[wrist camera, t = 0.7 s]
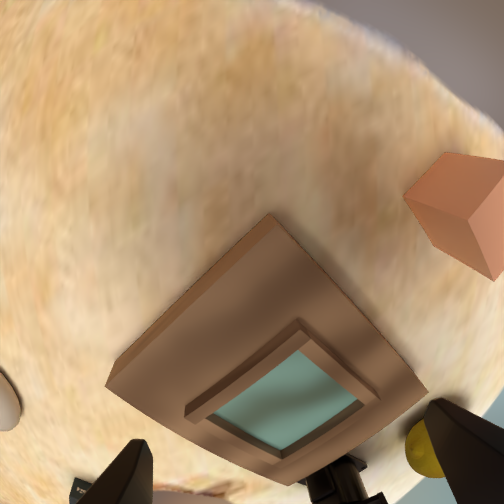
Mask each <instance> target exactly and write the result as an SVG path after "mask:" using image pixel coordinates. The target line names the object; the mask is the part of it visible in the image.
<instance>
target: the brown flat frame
mask: <svg viewBox="0 0 504 504" xmlns="http://www.w3.org/2000/svg"><path fill="white" fill-rule="evenodd" d="M105 387H106V388H107V389H109V390H110V391H111V392H113V393H114V394H116V395H117V396H118V397H120V398H121V399H123V400H124V401H126V402H127V403H129V404H130V405H132V406H133V407H135V408H136V409H138V410H139V411H141V412H142V413H144V414H145V415H147V416H148V417H150V418H152V419H153V420H155V421H156V422H158V423H160V424H161V425H163V426H165V427H166V428H168V429H170V430H171V431H173V432H175V433H177V434H178V435H180V436H182V437H184V438H185V439H187V440H189V441H191V442H193V443H194V444H196V445H198V446H200V447H202V448H204V449H206V450H208V451H210V452H211V453H213V454H215V455H217V456H219V457H221V458H224V459H226V460H228V461H230V462H232V463H234V464H236V465H238V466H240V467H243V468H245V469H247V470H249V471H252V472H254V473H256V474H259V475H261V476H263V477H266V478H268V479H271V480H273V481H276V482H278V483H281V484H283V485H286V486H290V485H292V484H294V483H296V482H297V481H299V480H301V479H303V478H305V477H307V476H309V475H310V474H312V473H314V472H316V471H318V470H319V469H321V468H323V467H325V466H326V465H328V464H330V463H331V462H333V461H335V460H336V459H338V458H340V457H341V456H343V455H344V454H346V453H348V452H349V451H351V450H352V449H354V448H355V447H357V446H358V445H360V444H361V443H363V442H364V441H366V440H367V439H369V438H370V437H372V436H373V435H375V434H376V433H377V432H379V431H380V430H382V429H383V428H384V427H386V426H387V425H388V424H390V423H391V422H392V421H394V420H395V419H396V418H398V417H399V416H400V415H402V414H403V413H404V412H405V411H407V410H408V409H409V408H410V407H412V406H413V405H414V404H415V403H417V402H418V401H419V400H420V399H421V398H423V397H424V396H425V395H426V394H427V393H429V392H428V391H427V389H426V388H425V387H424V385H423V384H422V383H421V381H420V380H419V379H418V377H417V376H416V375H415V373H414V372H413V371H412V370H411V369H410V367H409V366H408V365H407V364H406V363H405V361H404V360H403V359H402V358H401V357H400V356H399V354H398V353H397V352H396V351H395V350H394V349H393V348H392V346H391V345H390V344H389V343H388V342H387V341H386V339H385V338H384V337H383V336H382V335H381V334H380V333H379V332H378V330H377V329H376V328H375V327H374V326H373V325H372V324H371V322H370V321H369V320H368V319H367V318H366V317H365V316H364V315H363V313H362V312H361V311H360V310H359V309H358V308H357V307H356V306H355V304H354V303H353V302H352V301H351V300H350V299H349V298H348V297H347V296H346V294H345V293H344V292H343V291H342V290H341V289H340V288H339V287H338V286H337V285H336V283H335V282H334V281H333V280H332V279H331V278H330V277H329V276H328V275H327V274H326V273H325V271H324V270H323V269H322V268H321V267H320V266H319V265H318V264H317V263H316V262H315V261H314V260H313V259H312V257H311V256H310V255H309V254H308V253H307V252H306V251H305V250H304V249H303V248H302V247H301V246H300V245H299V244H298V243H297V241H296V240H295V239H294V238H293V237H292V236H291V235H290V234H289V233H288V232H287V231H286V230H285V229H284V228H283V227H282V226H281V225H280V224H279V223H278V221H277V220H276V219H275V218H274V217H273V216H272V215H271V214H270V213H269V214H268V215H266V216H265V217H264V218H263V219H262V220H261V221H260V222H259V223H258V224H257V225H256V226H255V227H254V228H253V229H252V230H251V231H250V232H248V233H247V234H246V235H245V236H244V237H243V238H242V239H241V240H240V241H239V242H238V243H237V244H236V245H235V246H234V247H233V248H232V249H231V250H230V251H228V252H227V253H226V254H225V255H224V256H223V257H222V258H221V259H220V260H219V261H218V262H217V263H216V264H215V265H214V266H213V267H212V268H211V269H210V270H209V271H208V272H207V273H205V274H204V275H203V276H202V277H201V278H200V279H199V280H198V281H197V282H196V283H195V284H194V285H193V286H192V287H191V288H190V289H189V290H188V291H187V292H186V293H185V294H184V295H183V296H182V297H181V298H180V299H179V300H178V301H176V302H175V303H174V304H173V305H172V306H171V307H170V308H169V309H168V310H167V311H166V312H165V313H164V314H163V315H162V316H161V317H160V318H159V319H158V320H157V321H156V322H155V323H154V324H153V325H152V326H151V327H150V328H149V329H148V330H147V331H146V332H145V333H144V334H143V335H142V336H141V337H140V338H139V339H138V340H137V341H136V342H135V343H134V344H132V345H131V346H130V347H129V348H128V349H127V350H126V351H125V352H124V353H123V354H122V355H121V356H120V357H119V358H118V359H117V360H116V361H115V363H114V365H113V368H112V370H111V372H110V375H109V377H108V380H107V382H106V384H105Z"/></svg>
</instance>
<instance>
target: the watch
mask: <svg viewBox="0 0 504 504" xmlns="http://www.w3.org/2000/svg"><path fill="white" fill-rule="evenodd" d="M91 486H92V484H90V483H88V482H85V481H83V480H80V479H78V478H75V479H74V482H73V485H72V489H71V492H70V495H69V504H76V502H77V501H78V500H79V499H80V498H81V497H82V496H83V495H84V493H85V492H86V491H87V490H88V489H89V488H90V487H91Z"/></svg>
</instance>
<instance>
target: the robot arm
mask: <svg viewBox="0 0 504 504" xmlns="http://www.w3.org/2000/svg"><path fill="white" fill-rule="evenodd" d="M424 424H425V427H426V429H427V432H428V435H429V438H430V441H431V444H432V447H433V450H434V453H435V455H436V458H437V460H438V462H439V464H440V466H441V469H442V471H443V473H444V475H445V477H446V479H447V482H448V484H449V486H450V488H451V490H452V492H453V495H454V497H455V499H456V502H457V504H504V429H503V428H501V427H499V426H497V425H495V424H493V423H491V422H489V421H487V420H485V419H483V418H481V417H479V416H477V415H475V414H473V413H471V412H469V411H467V410H465V409H464V408H462V407H460V406H458V405H456V404H454V403H452V402H450V401H448V400H446V399H444V398H442V397H440V398H436V399H433V400H431V401H430V403H429V405H428V407H427V410H426V412H425V415H424ZM366 468H367V464H366V463H365V462H363V461H361V460H359V459H357V458H355V457H353V456H351V455H349V454H347V453H346V454H344V455H343V456H341V457H340V458H338V459H336V460H335V461H333V462H331V463H330V464H328V465H326V466H325V467H323V468H321V469H319V470H318V471H316V472H314V473H312V474H310V475H309V476H307V477H305V478H303V479H301V480H299V481H297V482H298V483H300V484H303V485H306V486H307V488H308V492H309V496H310V500H311V502H312V504H388V503H387V500H386V498H385V496H384V494H383V492H380V493H377V495H374V496H372V497H368V495H367V492H366V490H365V487H364V484H363V482H362V479H361V477H360V474H359V472H361V471H363V470H364V469H366ZM152 497H153V456H152V453H151V451H150V449H149V447H148V444H147V442H146V441H145V440H144V439H132V440H130V442H129V443H128V444H127V445H126V446H125V447H124V449H123V450H122V451H121V452H120V453H119V454H118V456H117V457H116V458H115V459H114V460H113V461H112V463H111V464H110V465H109V466H108V467H107V468H106V469H105V471H104V472H103V473H102V474H101V475H100V476H99V478H98V479H97V480H96V481H95V482H94V483H93V484H92V486H91V487H90V488H89V489H88V490H87V491H86V492H85V493H84V495H83V496H82V497H81V498H80V499H79V500H78V501H77V502H76V504H152V499H153V498H152Z"/></svg>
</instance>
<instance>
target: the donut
mask: <svg viewBox="0 0 504 504" xmlns="http://www.w3.org/2000/svg"><path fill="white" fill-rule="evenodd" d="M20 414H21V409H20V405H19V401H18V398H17V396H16V394H15V392H14V390H13V388H12V386H11V385H10V384H9V382H8V381H7V379H6V378H5V377H4V375H3V374H2V373H1V372H0V431H10V430H12V429H13V428H14V427H16V426H17V424H18V423H19V420H20Z"/></svg>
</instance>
